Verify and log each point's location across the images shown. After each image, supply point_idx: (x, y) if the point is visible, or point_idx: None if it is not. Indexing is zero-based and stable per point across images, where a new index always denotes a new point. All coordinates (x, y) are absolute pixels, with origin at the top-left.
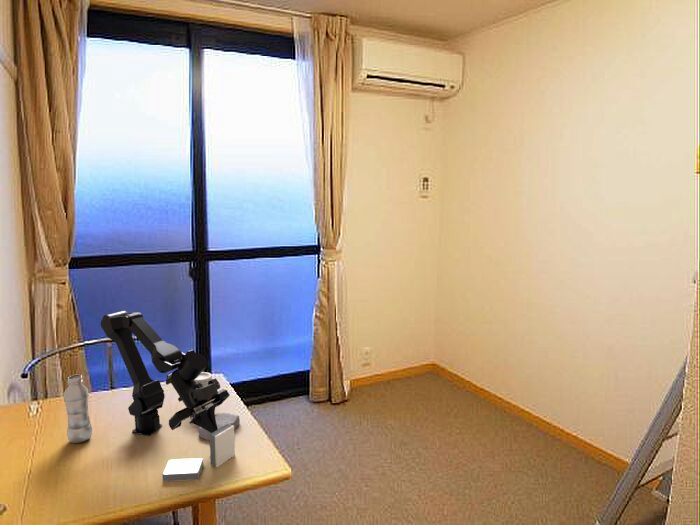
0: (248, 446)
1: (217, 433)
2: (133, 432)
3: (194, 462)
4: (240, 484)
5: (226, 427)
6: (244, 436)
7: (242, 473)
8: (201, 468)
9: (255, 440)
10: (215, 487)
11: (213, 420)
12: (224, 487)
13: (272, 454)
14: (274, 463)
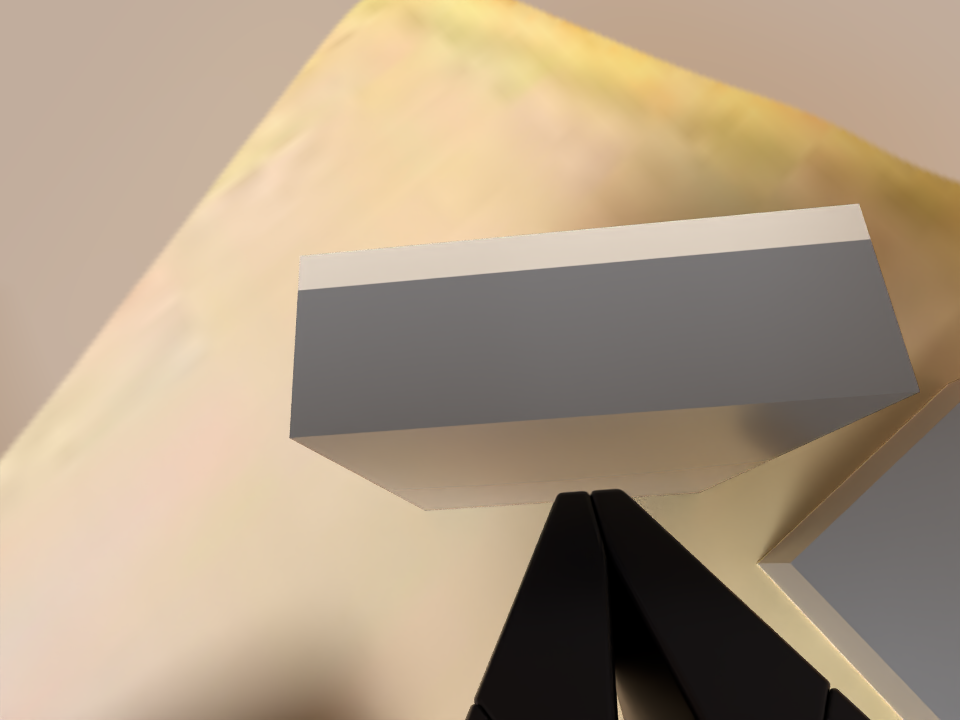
0: (227, 430)
1: (751, 281)
2: None
3: (930, 573)
4: (705, 78)
5: (439, 327)
6: (69, 628)
7: (594, 163)
8: (834, 495)
9: (99, 456)
10: (880, 182)
11: (571, 717)
12: (822, 133)
13: (243, 173)
14: (343, 84)
